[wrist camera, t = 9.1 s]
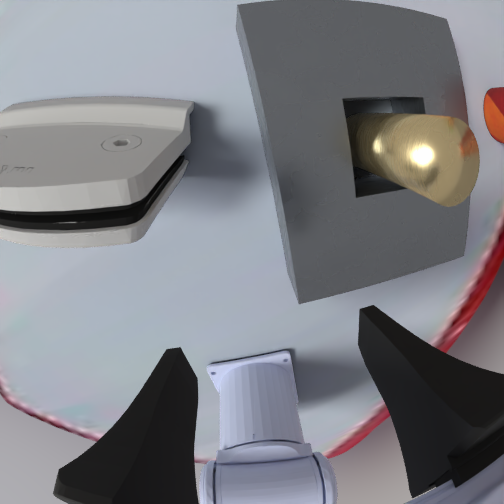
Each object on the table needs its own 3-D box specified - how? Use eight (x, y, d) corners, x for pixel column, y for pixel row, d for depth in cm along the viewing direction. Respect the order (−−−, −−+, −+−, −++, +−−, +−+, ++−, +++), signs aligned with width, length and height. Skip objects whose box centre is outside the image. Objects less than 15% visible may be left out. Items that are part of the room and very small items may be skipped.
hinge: (200, 102, 15) (149, 180, 8) (191, 165, 19) (153, 274, 12) (9, 104, 13) (-76, 171, 6) (16, 153, 16) (-54, 228, 9)
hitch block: (436, 235, 21) (463, 255, 17) (287, 273, 21) (298, 304, 17) (415, 29, 13) (446, 19, 9) (236, 28, 13) (237, 5, 10)
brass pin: (389, 165, 18) (477, 200, 10) (341, 171, 18) (421, 212, 10) (384, 112, 16) (477, 118, 8) (334, 115, 16) (418, 115, 8)
